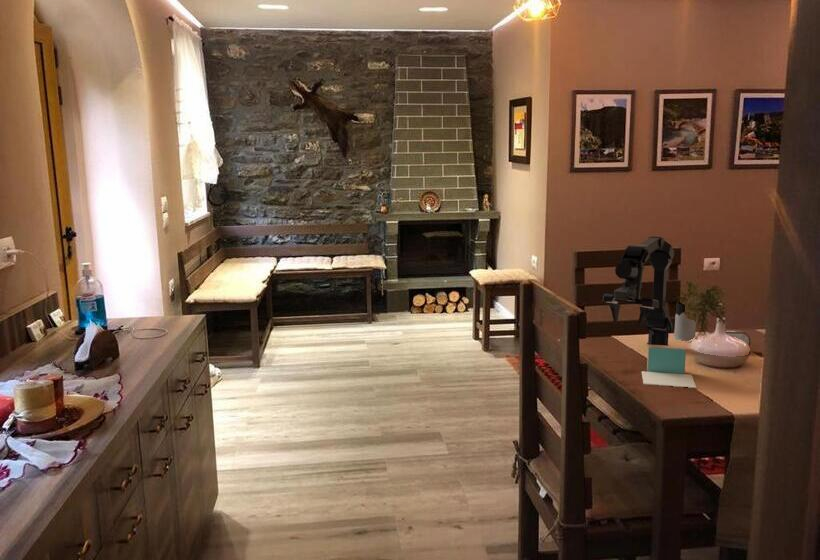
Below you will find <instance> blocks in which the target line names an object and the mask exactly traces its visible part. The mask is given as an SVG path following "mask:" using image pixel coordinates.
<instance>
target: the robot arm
mask: <svg viewBox="0 0 820 560" xmlns="http://www.w3.org/2000/svg"><path fill="white" fill-rule="evenodd" d="M674 257H675V250H674V249H673V246H672V244H670V243H668V242H667V241H666V240H665V238H664V237H662V236H654V235H651V236H649V237H648V238H647V239H645V240H644V241H641V242H640V243H639V244H629V245H628V246H627V247H626V248H625V249H624V251H623V253H622V256H621V258H620V260H619V263H618V264H617V265H616V267H615V270H614V272H615V275H616V276H617V277H618V278H620V279H623V280H624V282H621V286H620V287H618V288H616V289H614V291H613V294H611V293H604V294H603V296H602V302H605V304H606V305H607V306H608V307H609V308H610V312H611V314H612V315H611V316H612V319H613V323H614V324H617V323H618V320H619V315H620V314H619V313H620V309H621V303H627V304H633V305H634V304H635V305H641V306H639V317H638V324H637V326H638V327H639V328H642V326H643V325H644V322H645V327H646V331H649V333H648V340H647V343H646V345H647V346H648V345H664V346H670V345H669V334H671V333H673V327H674V326H673V323H672V320H671V318H670V311H669V310H668V308H667V306H666V298H667V296H666V294H667V281H668V280H667V279H668V269H669V267H670V266H671V264H672V263H673V259H674ZM648 260H649V263H650V265H651V266H652V268H653V285H652V298H646V297H642V296H640V295H641V289H643V287H644V285H643V284H642V282H643V281H642V280H643V275H644V270H645V265H644V264H646V262H648Z"/></svg>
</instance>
